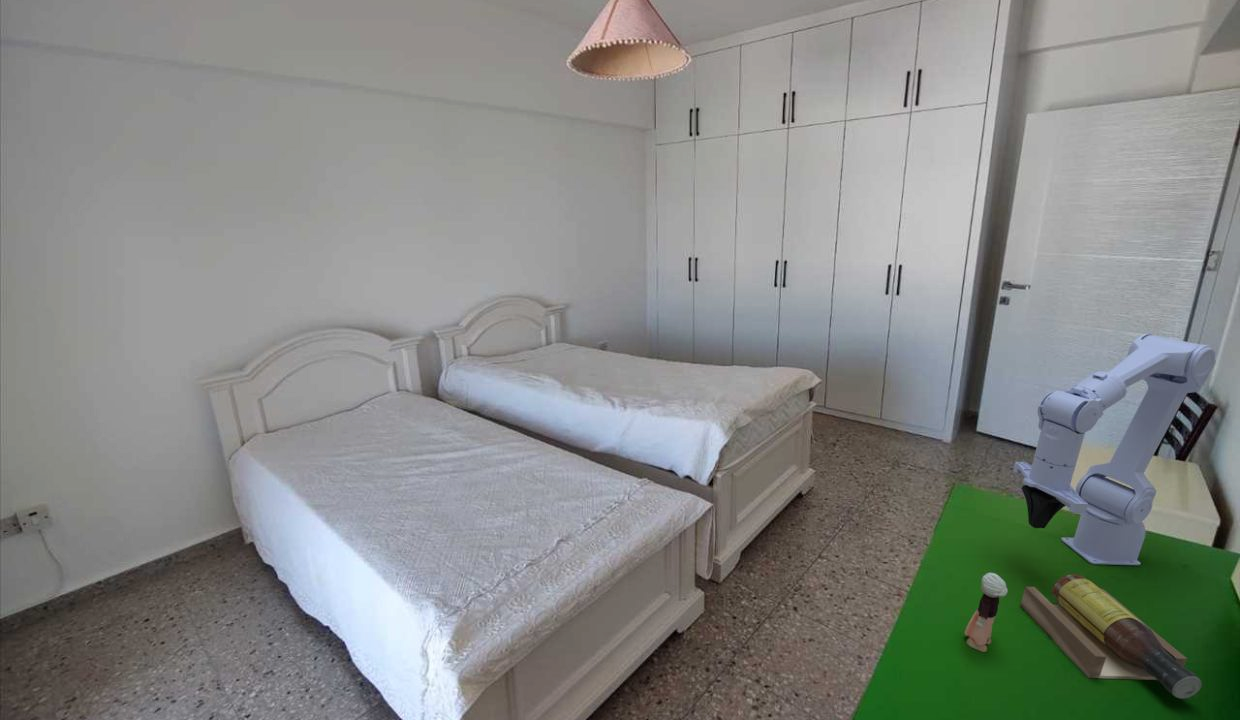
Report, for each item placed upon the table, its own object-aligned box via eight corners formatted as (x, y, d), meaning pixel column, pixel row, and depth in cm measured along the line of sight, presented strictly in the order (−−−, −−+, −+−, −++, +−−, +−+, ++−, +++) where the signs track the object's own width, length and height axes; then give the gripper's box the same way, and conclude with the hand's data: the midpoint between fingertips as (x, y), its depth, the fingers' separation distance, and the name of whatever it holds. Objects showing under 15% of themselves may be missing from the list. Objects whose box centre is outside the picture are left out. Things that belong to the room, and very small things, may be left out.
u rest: (1096, 607, 92) (1102, 588, 91) (1178, 680, 78) (1187, 658, 77) (1020, 605, 92) (1025, 586, 91) (1088, 677, 78) (1096, 656, 77)
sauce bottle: (1079, 600, 93) (1199, 708, 74) (1044, 600, 93) (1156, 708, 74) (1091, 569, 91) (1218, 673, 72) (1056, 569, 91) (1174, 673, 72)
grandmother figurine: (967, 623, 88) (983, 558, 85) (994, 634, 86) (1012, 568, 82) (959, 652, 83) (976, 584, 79) (989, 665, 80) (1007, 595, 77)
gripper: (1004, 440, 100) (989, 503, 104) (1064, 479, 86) (1044, 550, 90) (1041, 441, 100) (1025, 504, 104) (1108, 480, 86) (1086, 551, 90)
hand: (1036, 526), depth 97 cm, fingers closed
